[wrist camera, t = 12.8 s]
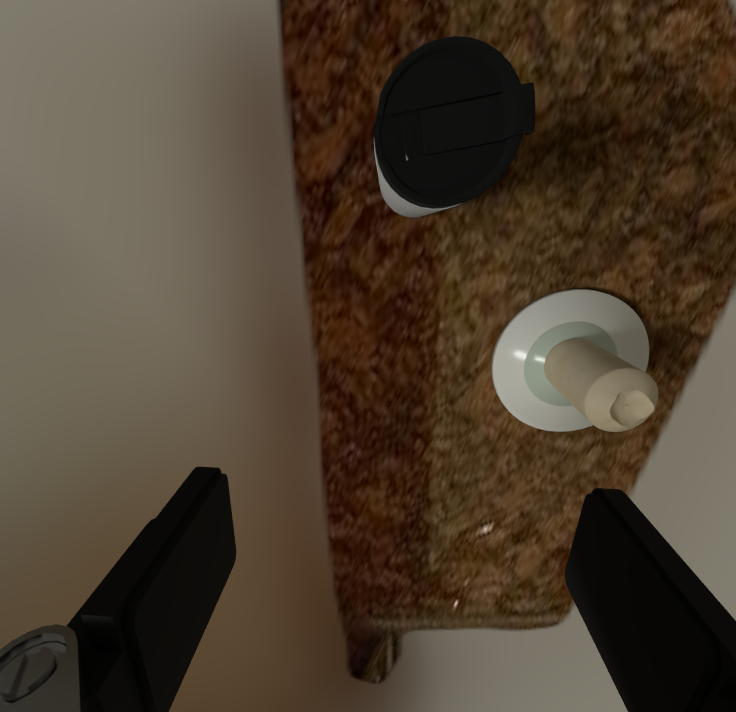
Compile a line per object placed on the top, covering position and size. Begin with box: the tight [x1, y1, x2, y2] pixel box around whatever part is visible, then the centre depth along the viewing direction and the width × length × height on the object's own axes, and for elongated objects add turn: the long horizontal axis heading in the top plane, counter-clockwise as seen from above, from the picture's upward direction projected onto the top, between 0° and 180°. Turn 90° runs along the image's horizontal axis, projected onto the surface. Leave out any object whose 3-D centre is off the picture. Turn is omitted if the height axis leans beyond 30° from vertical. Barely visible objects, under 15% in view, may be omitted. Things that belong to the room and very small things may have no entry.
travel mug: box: [374, 36, 535, 218], centre depth 25 cm, size 6×7×20 cm
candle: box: [544, 338, 658, 432], centre depth 33 cm, size 6×6×10 cm
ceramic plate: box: [491, 289, 649, 432], centre depth 38 cm, size 15×15×1 cm
